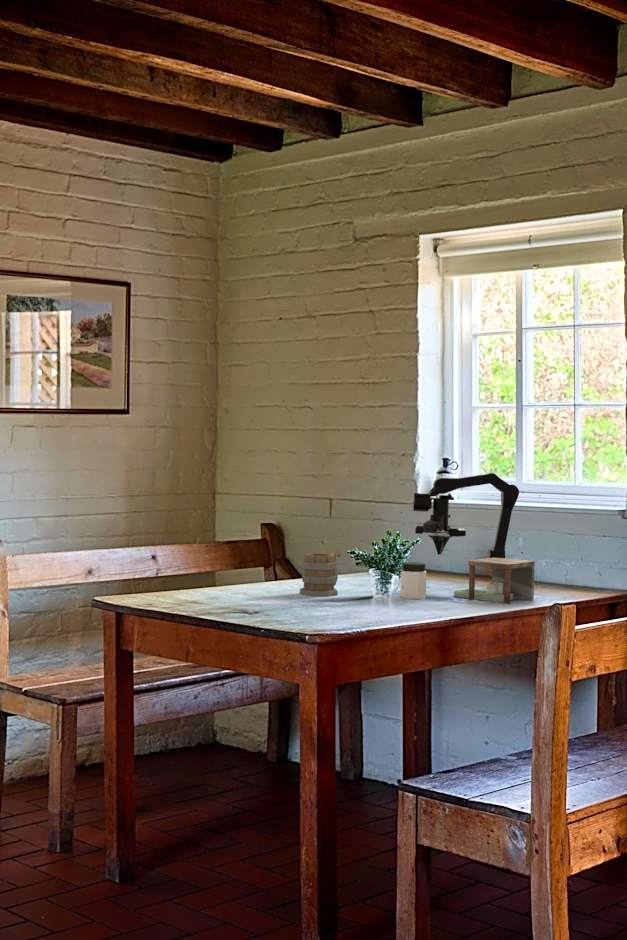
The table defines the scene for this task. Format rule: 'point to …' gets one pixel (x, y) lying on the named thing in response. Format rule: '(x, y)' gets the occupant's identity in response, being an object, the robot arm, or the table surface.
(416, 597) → the jar
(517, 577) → the stand
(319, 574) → the tankard
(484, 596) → the tray
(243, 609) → the table surface
